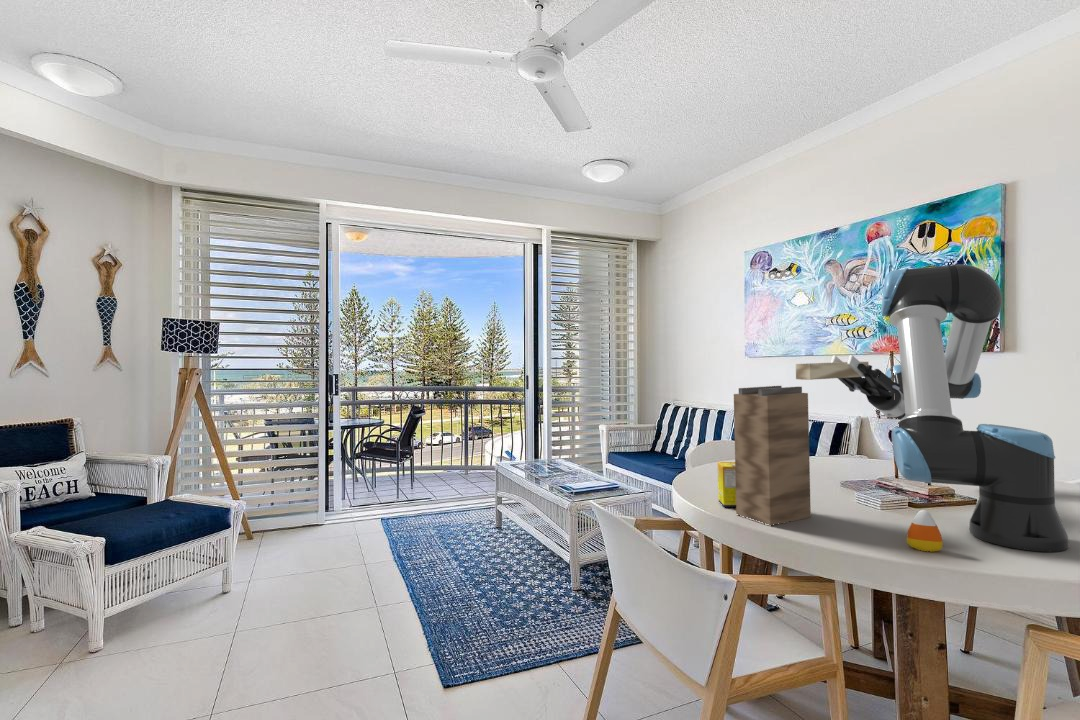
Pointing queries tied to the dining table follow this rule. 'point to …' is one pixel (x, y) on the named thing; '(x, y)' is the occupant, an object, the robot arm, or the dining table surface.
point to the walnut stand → (772, 454)
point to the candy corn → (924, 533)
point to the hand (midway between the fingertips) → (841, 359)
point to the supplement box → (727, 484)
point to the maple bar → (825, 371)
